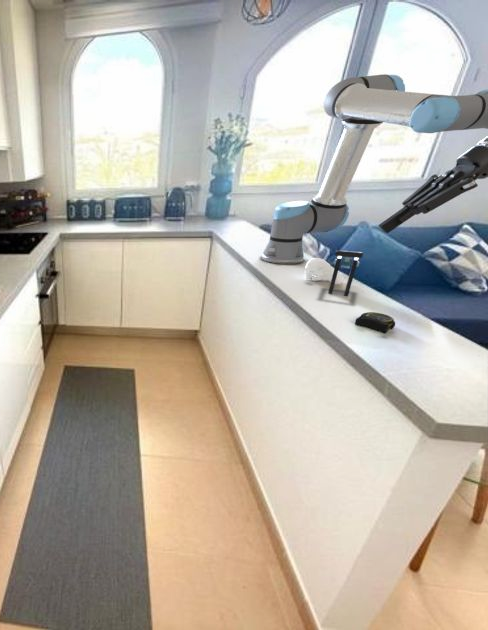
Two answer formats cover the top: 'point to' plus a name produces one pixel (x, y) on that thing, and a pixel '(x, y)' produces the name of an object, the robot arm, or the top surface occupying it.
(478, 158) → the robot arm
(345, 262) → the lever
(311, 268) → the white lumpy piece
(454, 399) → the top surface
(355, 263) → the bracket
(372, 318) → the tape measure
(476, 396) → the top surface
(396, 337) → the top surface
